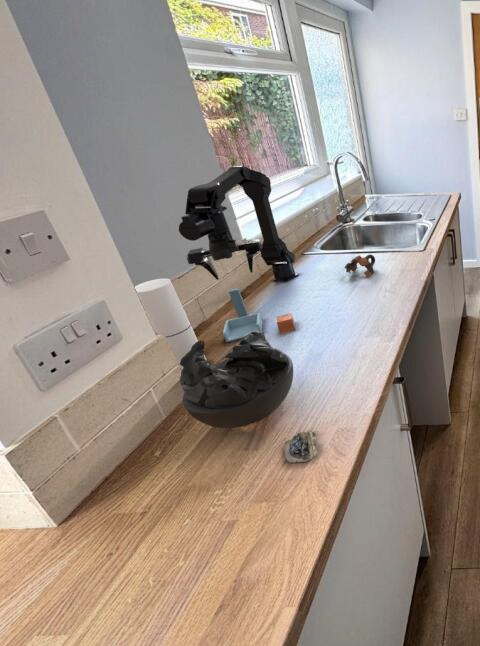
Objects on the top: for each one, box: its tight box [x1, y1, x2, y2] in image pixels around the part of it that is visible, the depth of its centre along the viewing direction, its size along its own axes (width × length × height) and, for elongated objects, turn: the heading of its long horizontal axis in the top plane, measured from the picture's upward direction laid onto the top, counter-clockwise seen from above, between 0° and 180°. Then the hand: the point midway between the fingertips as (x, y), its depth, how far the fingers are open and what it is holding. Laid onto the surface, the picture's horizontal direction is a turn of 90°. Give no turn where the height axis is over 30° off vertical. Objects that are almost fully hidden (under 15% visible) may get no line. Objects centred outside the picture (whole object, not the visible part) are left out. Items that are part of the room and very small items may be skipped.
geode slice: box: [283, 430, 318, 464], centre depth 80 cm, size 7×8×2 cm
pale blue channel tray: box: [222, 287, 264, 343], centre depth 120 cm, size 10×9×12 cm
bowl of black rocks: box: [179, 331, 294, 429], centre depth 86 cm, size 20×20×19 cm
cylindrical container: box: [134, 277, 210, 370], centre depth 100 cm, size 7×7×25 cm
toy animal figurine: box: [344, 254, 376, 278], centre depth 155 cm, size 12×10×8 cm
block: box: [276, 312, 296, 335], centre depth 121 cm, size 4×4×4 cm
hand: (235, 275), depth 127 cm, fingers open, 9 cm apart
